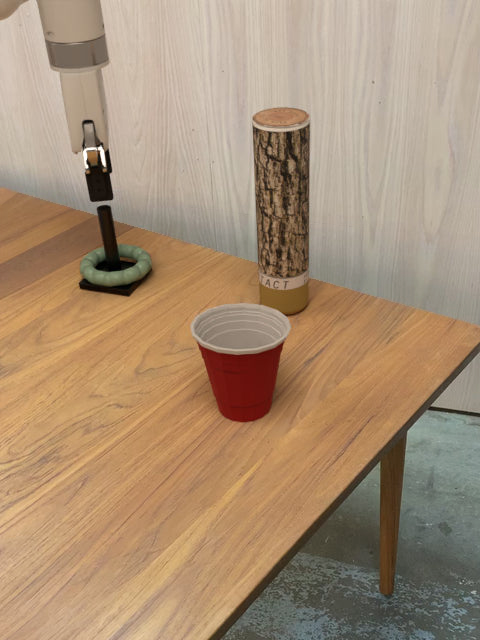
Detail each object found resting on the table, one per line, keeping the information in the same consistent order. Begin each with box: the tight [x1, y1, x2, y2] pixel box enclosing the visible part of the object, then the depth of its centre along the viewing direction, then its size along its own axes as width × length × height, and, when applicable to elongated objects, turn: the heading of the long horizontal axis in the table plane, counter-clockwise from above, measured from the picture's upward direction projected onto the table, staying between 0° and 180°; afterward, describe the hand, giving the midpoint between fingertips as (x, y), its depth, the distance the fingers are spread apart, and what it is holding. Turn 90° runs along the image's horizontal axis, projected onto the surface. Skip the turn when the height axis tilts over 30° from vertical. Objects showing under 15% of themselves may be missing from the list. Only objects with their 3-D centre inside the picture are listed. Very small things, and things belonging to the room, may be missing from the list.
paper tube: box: [251, 106, 311, 316], centre depth 100 cm, size 7×7×25 cm
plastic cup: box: [189, 302, 292, 423], centre depth 87 cm, size 11×11×12 cm
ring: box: [79, 243, 153, 287], centre depth 114 cm, size 10×10×2 cm
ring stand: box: [78, 204, 153, 297], centre depth 111 cm, size 8×8×11 cm
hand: (101, 186), depth 110 cm, fingers open, 8 cm apart
